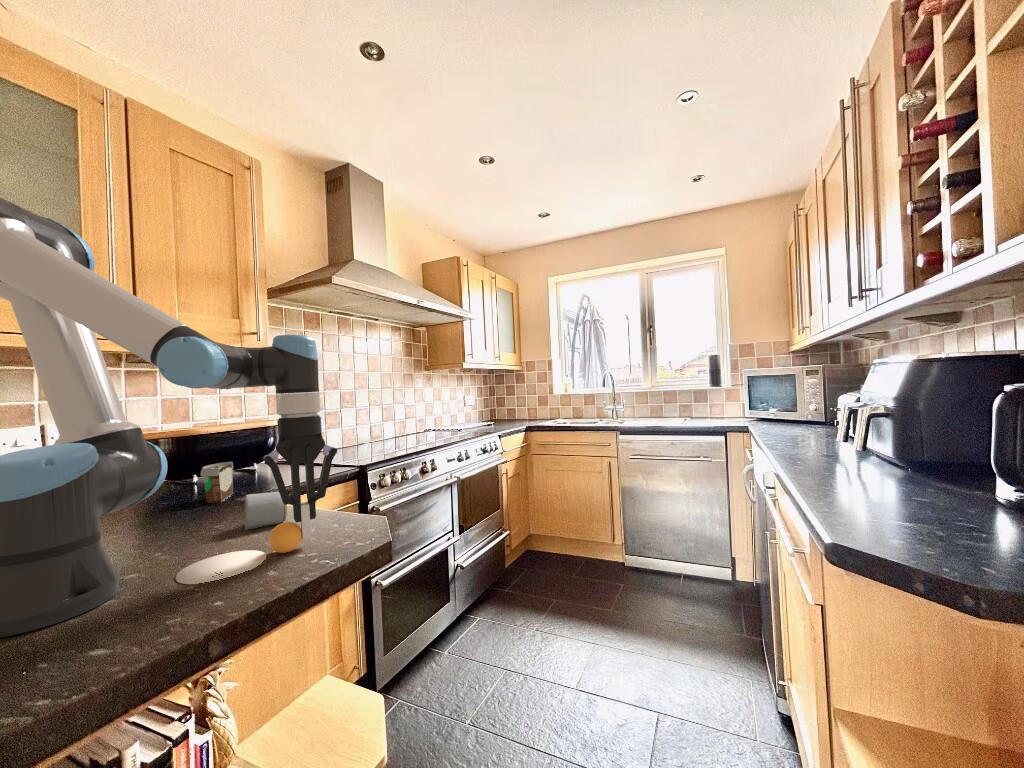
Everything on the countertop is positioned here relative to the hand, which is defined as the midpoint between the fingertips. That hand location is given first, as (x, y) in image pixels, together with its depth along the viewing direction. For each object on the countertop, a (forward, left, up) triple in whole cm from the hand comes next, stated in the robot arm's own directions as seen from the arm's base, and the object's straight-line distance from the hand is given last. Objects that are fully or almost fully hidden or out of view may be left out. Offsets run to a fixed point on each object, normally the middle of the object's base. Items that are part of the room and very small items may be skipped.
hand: (306, 537), depth 80 cm
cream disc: (-13, 0, -2) cm, 13 cm away
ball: (-3, 0, +1) cm, 3 cm away
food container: (-17, +61, -2) cm, 63 cm away
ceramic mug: (-6, +23, -2) cm, 24 cm away
